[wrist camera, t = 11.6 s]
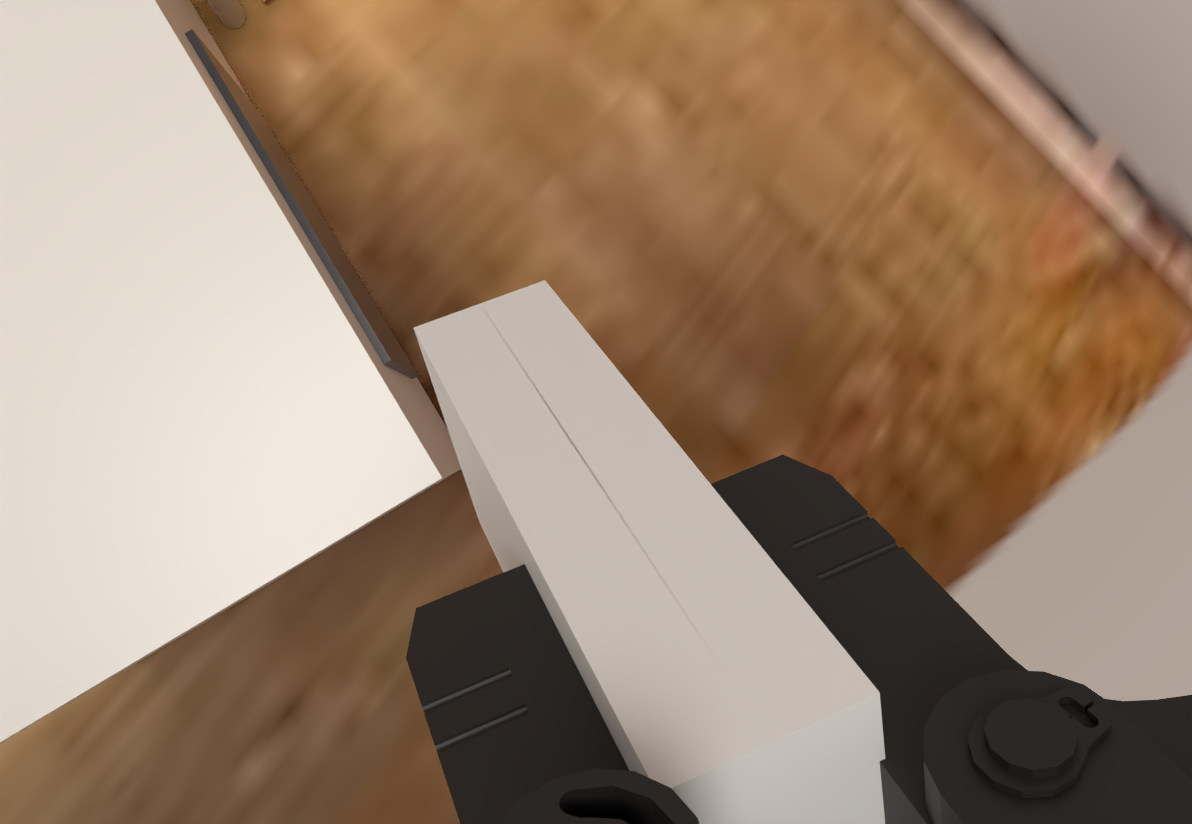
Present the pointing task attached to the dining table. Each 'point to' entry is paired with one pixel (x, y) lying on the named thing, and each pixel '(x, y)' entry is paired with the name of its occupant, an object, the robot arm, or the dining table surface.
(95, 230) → the case
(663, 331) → the dining table surface
